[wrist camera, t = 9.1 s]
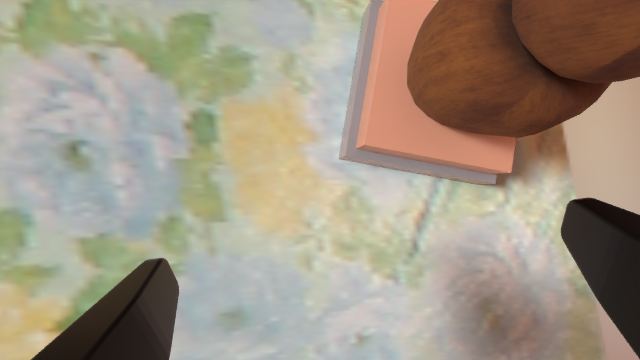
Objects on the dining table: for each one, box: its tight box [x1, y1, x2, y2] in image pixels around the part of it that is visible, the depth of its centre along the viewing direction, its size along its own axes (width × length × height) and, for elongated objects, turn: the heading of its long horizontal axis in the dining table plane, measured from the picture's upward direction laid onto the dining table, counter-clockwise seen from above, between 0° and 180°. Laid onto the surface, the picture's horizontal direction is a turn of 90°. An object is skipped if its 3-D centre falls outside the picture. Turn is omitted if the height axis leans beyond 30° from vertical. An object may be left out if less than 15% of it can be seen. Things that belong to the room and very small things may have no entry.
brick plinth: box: [339, 0, 516, 184], centre depth 21 cm, size 9×9×4 cm
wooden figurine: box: [407, 0, 640, 138], centre depth 12 cm, size 7×6×15 cm
